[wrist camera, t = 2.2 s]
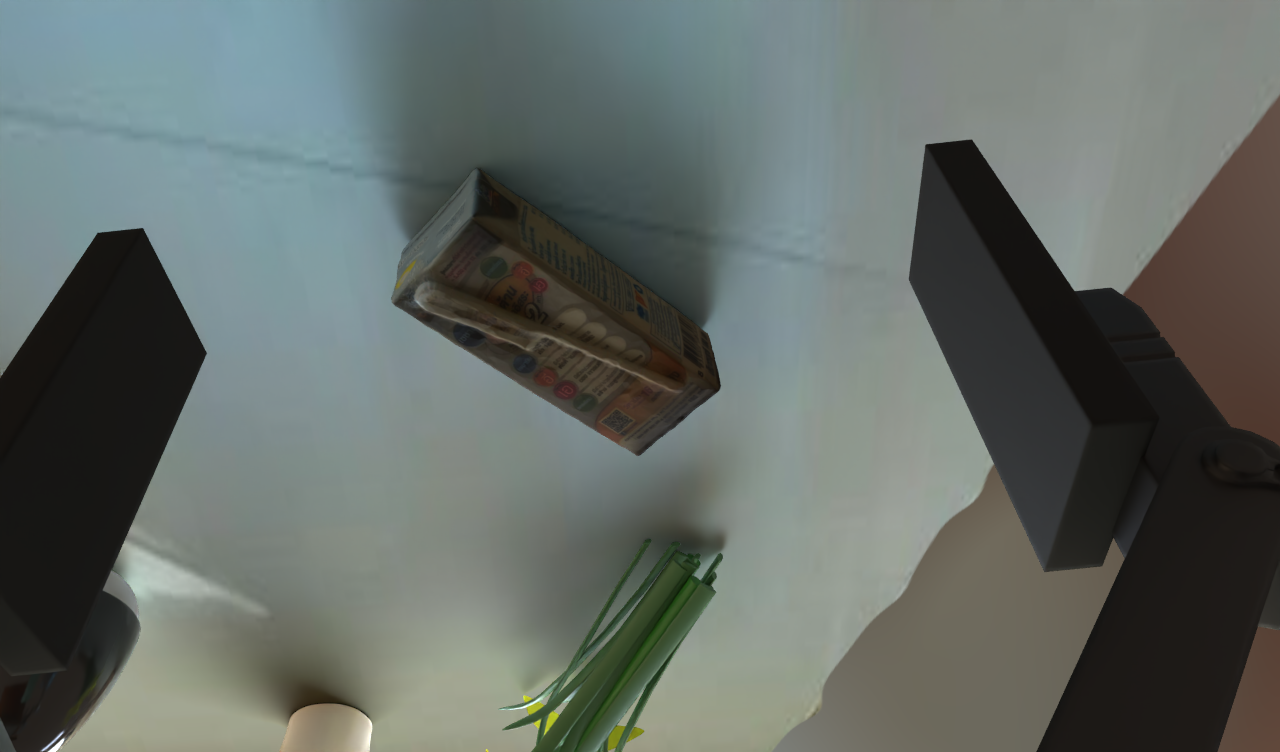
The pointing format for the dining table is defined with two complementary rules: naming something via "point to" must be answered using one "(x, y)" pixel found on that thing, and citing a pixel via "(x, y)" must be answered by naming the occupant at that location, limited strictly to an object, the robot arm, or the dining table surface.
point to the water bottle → (327, 730)
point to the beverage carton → (555, 315)
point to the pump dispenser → (73, 677)
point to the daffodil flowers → (622, 659)
